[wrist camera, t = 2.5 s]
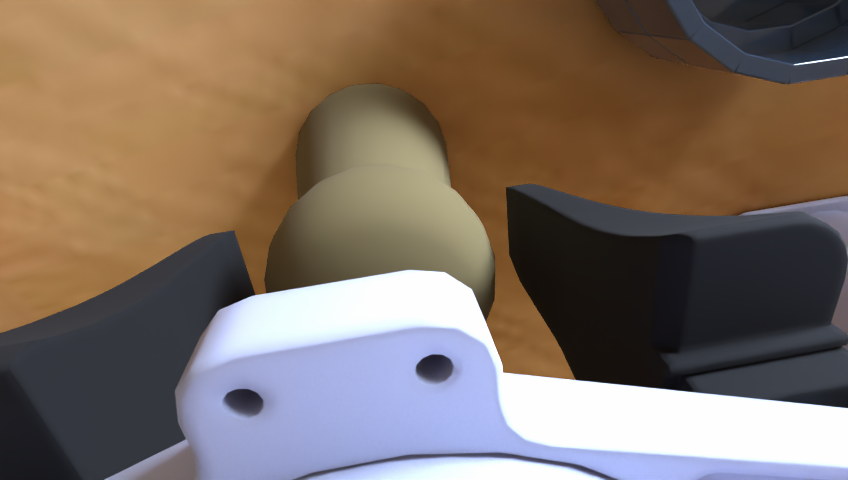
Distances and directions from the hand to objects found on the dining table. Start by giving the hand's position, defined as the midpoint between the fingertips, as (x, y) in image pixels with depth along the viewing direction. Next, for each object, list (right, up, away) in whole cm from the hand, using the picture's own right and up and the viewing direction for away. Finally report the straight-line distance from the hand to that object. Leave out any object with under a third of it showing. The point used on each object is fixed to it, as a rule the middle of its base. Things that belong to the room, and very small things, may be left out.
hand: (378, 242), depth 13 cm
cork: (-1, +3, +7) cm, 8 cm away
